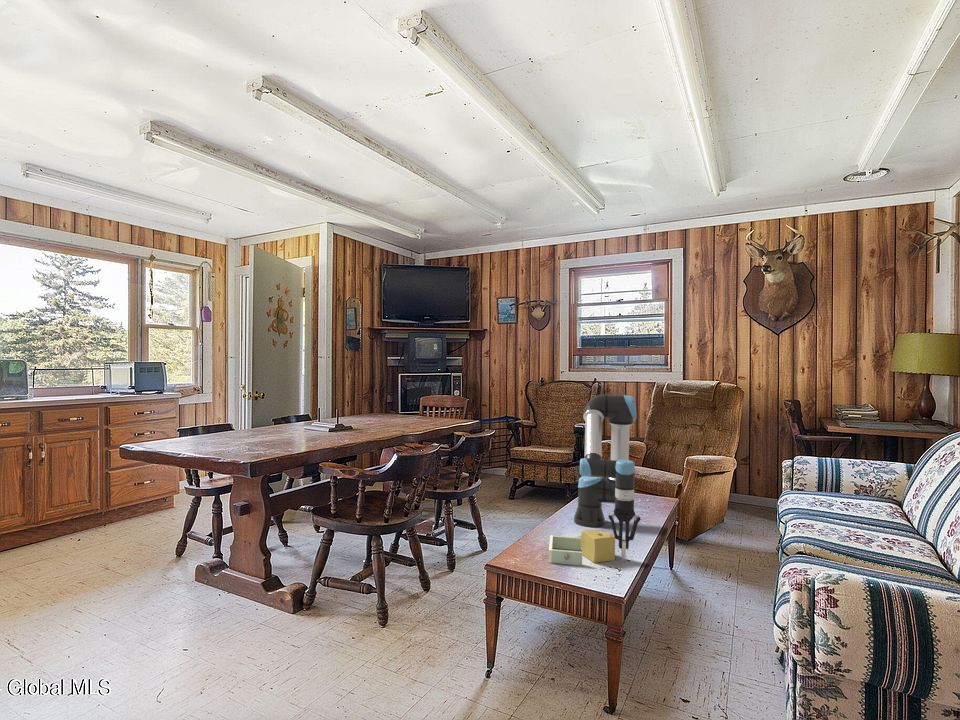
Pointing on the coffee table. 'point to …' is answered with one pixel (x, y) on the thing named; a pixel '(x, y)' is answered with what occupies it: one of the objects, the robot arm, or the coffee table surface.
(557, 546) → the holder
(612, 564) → the coffee table surface
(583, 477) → the robot arm
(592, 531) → the cheese
